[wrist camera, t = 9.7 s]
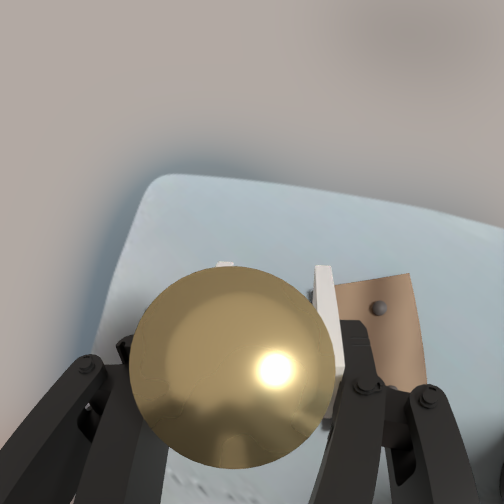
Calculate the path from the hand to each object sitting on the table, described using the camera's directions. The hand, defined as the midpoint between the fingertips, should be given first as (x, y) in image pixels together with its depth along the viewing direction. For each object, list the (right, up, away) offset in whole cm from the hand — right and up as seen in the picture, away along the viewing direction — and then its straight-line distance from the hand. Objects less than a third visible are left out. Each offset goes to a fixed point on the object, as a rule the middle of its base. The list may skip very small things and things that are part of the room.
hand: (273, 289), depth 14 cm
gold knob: (0, -5, +2) cm, 5 cm away
